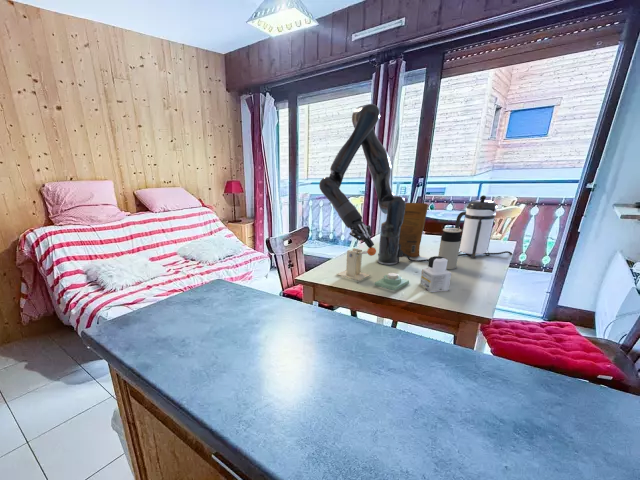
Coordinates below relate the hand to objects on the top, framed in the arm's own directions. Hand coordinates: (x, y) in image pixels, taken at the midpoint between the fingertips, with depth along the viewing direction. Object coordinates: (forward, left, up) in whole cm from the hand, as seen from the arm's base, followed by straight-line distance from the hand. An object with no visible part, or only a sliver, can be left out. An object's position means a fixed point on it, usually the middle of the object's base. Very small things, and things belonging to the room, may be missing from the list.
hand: (371, 246), depth 138 cm
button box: (-6, +8, -16) cm, 19 cm away
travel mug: (-43, -3, -16) cm, 46 cm away
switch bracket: (+3, -8, -16) cm, 18 cm away
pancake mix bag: (-37, -28, -16) cm, 49 cm away
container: (-20, +16, -16) cm, 30 cm away
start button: (-6, +8, -12) cm, 16 cm away
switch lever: (+1, -3, -5) cm, 6 cm away
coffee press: (-68, -15, -16) cm, 71 cm away
